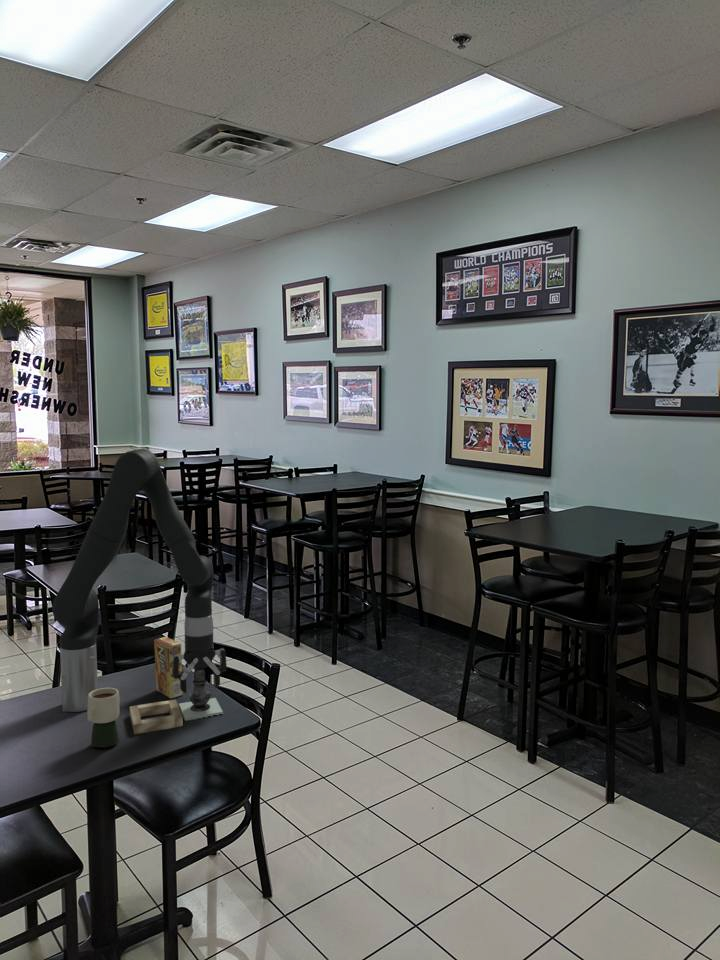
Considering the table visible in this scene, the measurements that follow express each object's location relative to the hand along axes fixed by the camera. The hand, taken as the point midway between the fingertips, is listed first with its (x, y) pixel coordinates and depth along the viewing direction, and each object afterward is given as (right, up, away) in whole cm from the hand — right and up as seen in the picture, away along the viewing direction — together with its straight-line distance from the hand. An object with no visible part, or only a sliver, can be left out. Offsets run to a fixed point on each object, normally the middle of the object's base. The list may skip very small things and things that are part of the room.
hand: (200, 689), depth 191 cm
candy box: (-12, -5, +13) cm, 18 cm away
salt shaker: (0, -5, 0) cm, 5 cm away
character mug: (-19, -8, -19) cm, 28 cm away
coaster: (0, -6, +1) cm, 6 cm away
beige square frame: (-10, -6, -6) cm, 13 cm away
